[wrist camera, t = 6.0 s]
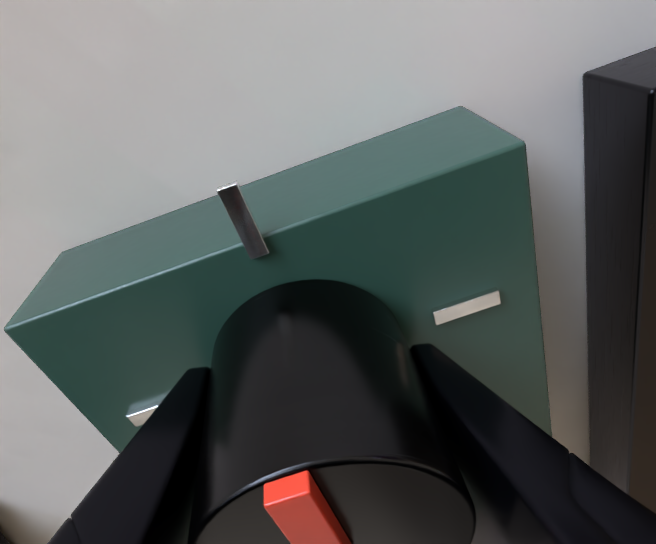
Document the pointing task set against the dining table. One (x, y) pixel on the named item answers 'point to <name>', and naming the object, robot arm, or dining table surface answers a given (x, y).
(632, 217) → the hob
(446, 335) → the control box
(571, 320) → the dining table surface
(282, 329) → the hob knob
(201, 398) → the robot arm
